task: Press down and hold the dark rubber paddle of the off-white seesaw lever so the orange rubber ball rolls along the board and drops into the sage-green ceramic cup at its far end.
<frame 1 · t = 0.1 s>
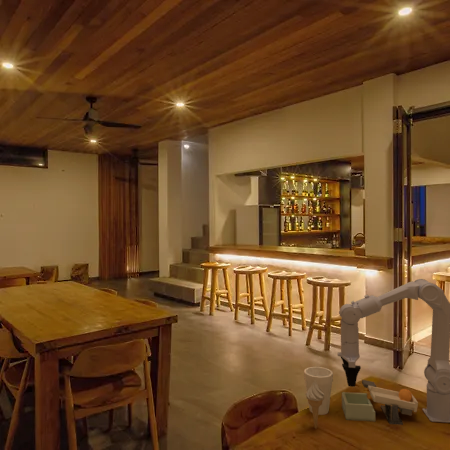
hand: (350, 381, 131), 10 cm above the table, tool pointing down, fingers open, 7 cm apart
ball: (405, 395, 127), point 7 cm above the table, touching lever board
foam cup: (318, 410, 132), on the table
lever stand: (391, 415, 128), on the table
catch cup: (357, 413, 129), on the table
ice cream cone: (315, 429, 121), on the table
lever board: (387, 394, 132), point 5 cm above the table, hinge at -10.0°, touching ball
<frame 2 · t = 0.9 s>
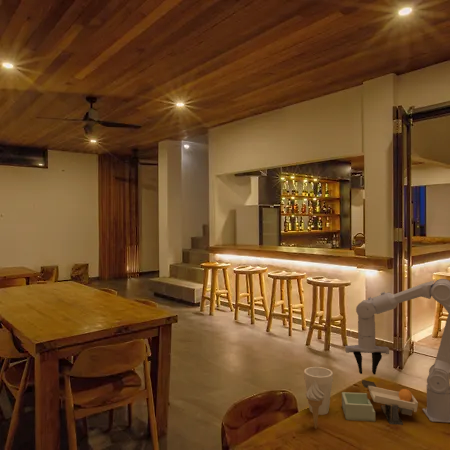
hand: (367, 373, 138), 10 cm above the table, tool pointing down, fingers open, 4 cm apart
nothing on the table moved.
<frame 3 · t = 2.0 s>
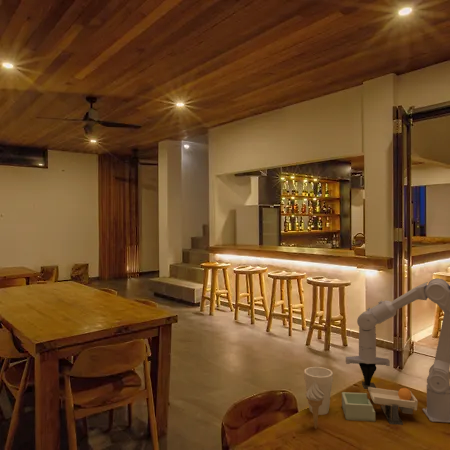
hand: (367, 384, 138), 6 cm above the table, tool pointing down, fingers closed, pressing on lever board
lever board: (387, 394, 132), point 5 cm above the table, hinge at -5.1°, touching ball, gripper
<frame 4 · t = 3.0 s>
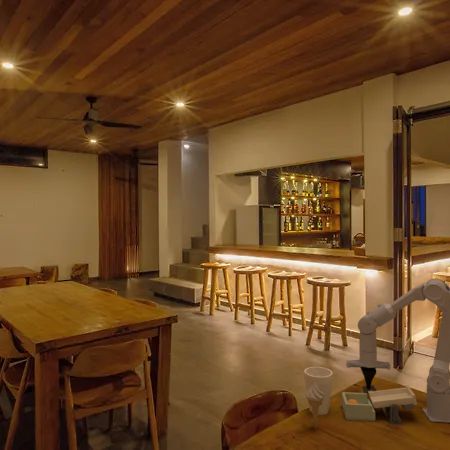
hand: (368, 388, 138), 5 cm above the table, tool pointing down, fingers closed, pressing on lever board
ball: (352, 405, 130), point 3 cm above the table, tilted 123°, touching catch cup
lever board: (387, 394, 132), point 5 cm above the table, hinge at 10.1°, touching gripper
everything else where it was.
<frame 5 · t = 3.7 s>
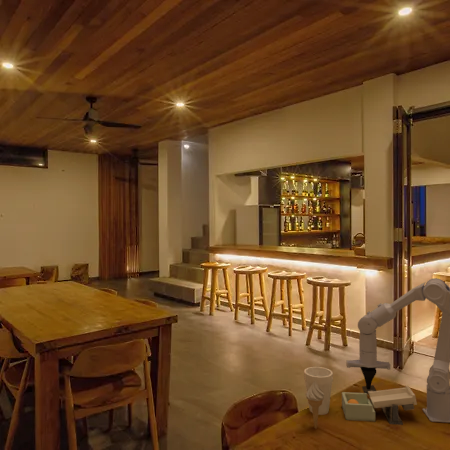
hand: (368, 388, 138), 5 cm above the table, tool pointing down, fingers closed, pressing on lever board
lever board: (387, 394, 132), point 5 cm above the table, hinge at 10.1°, touching gripper
everything else where it was.
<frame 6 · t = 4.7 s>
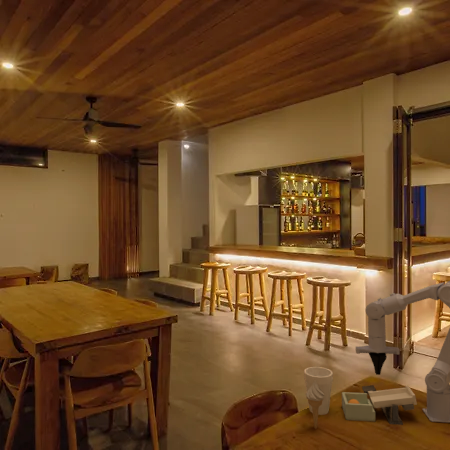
hand: (377, 373, 139), 9 cm above the table, tool pointing down, fingers closed
ball: (353, 405, 130), point 3 cm above the table, tilted 112°, touching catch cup
lever board: (387, 394, 132), point 5 cm above the table, hinge at 10.1°
everything else where it was.
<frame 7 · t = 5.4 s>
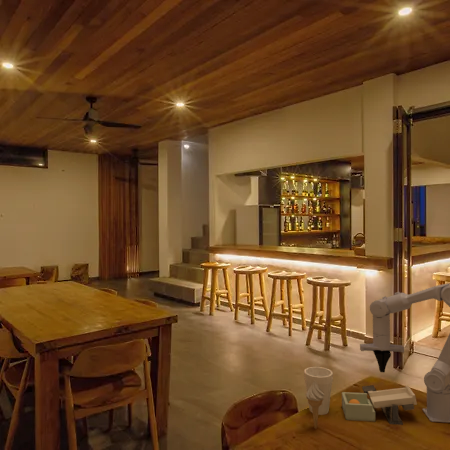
hand: (382, 371, 140), 10 cm above the table, tool pointing down, fingers closed
nothing on the table moved.
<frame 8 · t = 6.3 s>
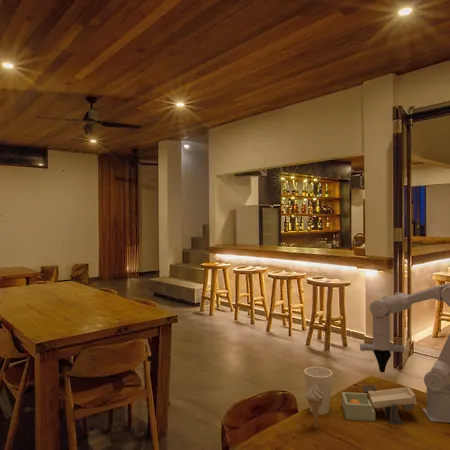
hand: (382, 371, 140), 10 cm above the table, tool pointing down, fingers closed
ball: (355, 405, 130), point 3 cm above the table, tilted 101°, touching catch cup
everything else where it was.
at the end: ball inside the target area on the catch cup (0.9 cm from its centre), point 2.6 cm above the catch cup's base; ball moved 16.5 cm from its start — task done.
